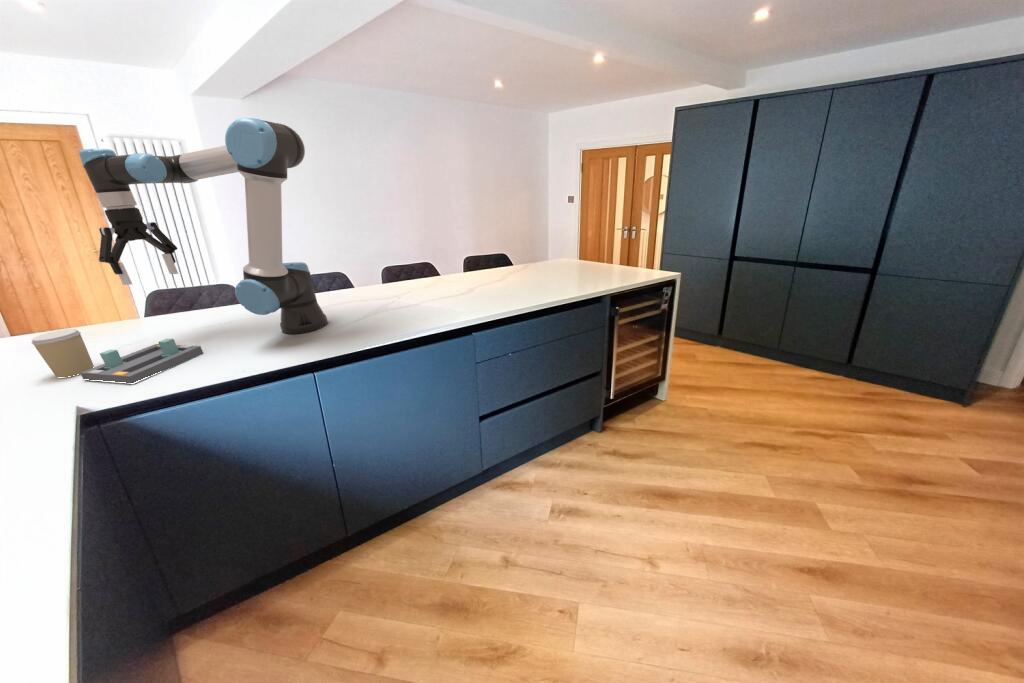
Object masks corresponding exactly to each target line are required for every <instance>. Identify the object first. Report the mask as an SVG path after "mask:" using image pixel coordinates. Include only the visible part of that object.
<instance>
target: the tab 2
mask: <svg viewBox="0 0 1024 683" xmlns="http://www.w3.org/2000/svg"><path fill="white" fill-rule="evenodd" d="M157 344H159V345H160V348H161V350H162V352H163V354H164V355H162V356H161V357H162V359H164V358H166V357H169V356H171V355H173V354H176V353H178V352H181V351H179V350H178V348H177V345H178V344H177V343H176V341H175V339H174V338H165V339H163V340H160V341H158V342H157Z"/></svg>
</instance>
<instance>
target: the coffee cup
mask: <svg viewBox="0 0 1024 683" xmlns="http://www.w3.org/2000/svg"><path fill="white" fill-rule="evenodd" d="M31 344H32V345H33V347H34V348H35V349H36V350H37V352H38V354H39V355H40V356H41V358H42V359H43V360H44V362H45V363H46V364H47V366H48V368H49V369H50V370H51V372H52V373H53V375H54V376H55V377H56V378H57V377H68V376H73V375H77V374H80V373H81V372H84V371H86V370H89V369H91V368H93V367H95V365H94V363H93V361H92V358H91V356H90V353H89V351H88V348H87V347H86V344H85V342H84V338H83V336H82V333H81V331H80V330H78V329H77V328H66V329H60V330H53V331H50V332H46V333H42V334H40V335H37V336H35V337H32V338H31Z"/></svg>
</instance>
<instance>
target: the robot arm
mask: <svg viewBox="0 0 1024 683" xmlns="http://www.w3.org/2000/svg"><path fill="white" fill-rule="evenodd" d="M224 142H225V145H222V146H215V147H212V148H206V149H200V150H195V151H190V152H187V153H182V154H177V155H170V156H164V155H153V154H152V153H140V152H139V153H138V152H136V153H133V154H124V155H123V154H121V155H116V153H115V151H114V150H113V149H110V148H109V149H108V148H84V149H81V150H79V151H78V155H79V158H80V160H81V163H82V167H83V168H84V170H85V173H86V174H87V176H88V179H89V181H90V183H91V185H92V187H93V189H94V191H95V193H96V196H97V197H98V200H99V202H100V204H101V207H102V208H103V209H105V210H104V213H105V215H106V216H105V217H106V218H107V220H108V222H109V223H110V225H111V227H99V233H100V246H99V247H100V248H99V258H98V261H99V262H100V263H105V264H106V263H107V264H109V265H110V267H111V269H112V271H113V273H114V275H118V277H119V279H120V281H121V283H122V285H125V286H130V285H133V282H132V280H131V277H130V275H129V274H128V272H127V269H126V266H125V265H124V263H123V262H119V261H120V259H121V256H122V255H123V253H124V250H125V247H126V245H127V244H128V243H129V242H132V241H134V242H135V241H136V240H137V241H139V240H141V241H142V240H143V241H145V242H147V243H148V244H149V245H151V246H153V247H154V248H156V249H158V250H159V251H160V252H163V253H161V256H162V259H163V261H164V263H165V266H166V268H167V270H168V273H169V275H177V274H179V271H178V269H177V267H176V262H177V261H176V259H175V256H174V253H175V251H177V250H178V247H177V246H176V245H175V244H174V242H172V241H171V239H170V238H169V237H168V236H166V234H164V232H162V230H160V228H159V226H158V224H157V223H156V222H154V221H153V222H152V221H151V222H146V223H145V222H144V221H143V220H144V219H143V216H142V212H141V211H140V209H139V208H138V207H136V206H137V205H138V203H137V201H136V198H135V197H134V194H133V192H132V190H131V188H130V185H142V184H144V185H145V184H147V185H148V184H191V183H195V182H198V181H199V180H202V179H209V178H214V177H218V176H224V175H230V174H235V173H239V174H241V176H242V177H243V178H244V189H245V191H244V193H245V209H246V210H245V212H246V230H247V248H248V251H247V252H248V263H247V264H246V265H244V266H243V268H242V270H243V271H242V274H243V279H242V280H240V281H239V282H238V283H237V284H236V286H235V290H234V292H235V297H236V299H237V301H238V302H239V304H240V305H241V306H242V307H244V309H245V310H246V311H249V312H250V313H252V314H255V315H258V316H265V315H266V316H267V315H269V314H272V313H276V312H277V311H279V310H280V323H279V326H280V330H281V332H282V333H283V334H288V335H289V334H290V335H295V334H304V333H309V332H312V331H313V332H314V331H316V330H319V329H321V328H323V327H325V326H326V325H327V324H328V317H327V315H326V314H325V313H324V312H323V310H322V308H321V306H320V304H319V303H318V300H317V296H316V291H315V289H314V284H313V280H312V276H311V271H310V270H309V265H307V263H306V262H301V261H300V262H296V261H295V262H283V219H282V218H283V216H282V211H283V210H282V205H283V204H282V202H283V201H282V184H283V183H284V182H285V181H287V180H288V169H292V168H295V167H298V166H299V165H300V164H301V163H302V162H303V160H304V158H305V152H306V151H305V150H306V149H305V145H304V144H305V143H304V141H303V140H302V138H301V136H300V135H299V134H298V133H297V131H296V130H294V129H293V128H292V127H290V126H288V125H286V124H283V123H282V124H281V123H278V122H277V123H276V122H272V121H269V120H268V121H267V120H263V119H260V118H254V117H251V118H250V117H243V118H242V117H241V118H237V119H235V120H234V121H233V122H232V123H230V124H229V125H228V127H227V129H226V132H225V137H224ZM147 230H148V231H150V232H151V233H152V234H153V235H154V236H155V237H156V238H155V237H153V235H152V234H151V233H149V232H147ZM114 234H116V238H115V240H114V241H115V242H114V245H113V235H114ZM157 239H158V240H157Z"/></svg>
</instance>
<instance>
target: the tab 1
mask: <svg viewBox="0 0 1024 683" xmlns="http://www.w3.org/2000/svg"><path fill="white" fill-rule="evenodd" d="M99 355H100V357H101V359H102V361H103V364H105V365H106V367H104V368H103V369H104V371H107V370H109V369H112V368H114V367H117V366H119V365H122V364H124V363H127V362H123V361H122V359H121V357H122V356H121V355H120V353H119V351H118V350H117V349H108V350H105V351H103V352H100V353H99Z"/></svg>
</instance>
